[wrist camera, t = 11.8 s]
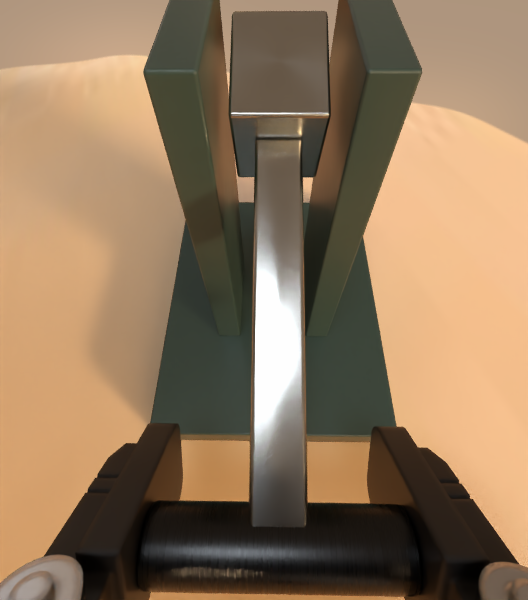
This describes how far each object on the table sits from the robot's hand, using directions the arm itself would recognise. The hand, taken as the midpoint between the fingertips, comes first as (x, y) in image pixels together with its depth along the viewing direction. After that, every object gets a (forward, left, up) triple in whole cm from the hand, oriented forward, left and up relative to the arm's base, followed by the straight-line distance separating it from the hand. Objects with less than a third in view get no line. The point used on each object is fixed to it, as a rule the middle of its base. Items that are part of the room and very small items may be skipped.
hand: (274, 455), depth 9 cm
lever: (-3, +2, +2) cm, 4 cm away
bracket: (-6, +5, -6) cm, 10 cm away
